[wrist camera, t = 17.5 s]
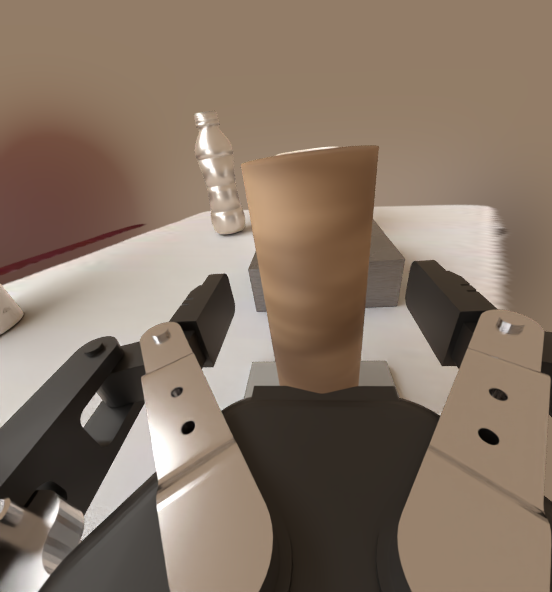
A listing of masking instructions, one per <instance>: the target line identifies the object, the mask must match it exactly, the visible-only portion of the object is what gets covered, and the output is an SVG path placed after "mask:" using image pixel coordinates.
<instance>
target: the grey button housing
mask: <svg viewBox="0 0 552 592" xmlns="http://www.w3.org/2000/svg"><path fill="white" fill-rule="evenodd" d="M404 262H405V259H404V257H403V256H402V255H401V254H400V252H399V251H398V250H397V249H396V247H395V246H394V245H393V243H392V242H391V241H390V240H389V238H388V237H387V236H386V235H385V233H384V232H383V231H382V230H381V228H380V227H379V226H378V225H377V223H376V222H375V221H374V220H372V232H371V244H370V256H369V267H368V279H367V291H366V303H365V307H389V306H397V303H398V297H399V291H400V286H401V280H402V274H403V268H404ZM248 271H249V276H250V281H251V286H252V291H253V296H254V301H255V306H256V311H257V312H265V311H267V310H266V305H265V299H264V293H263V288H262V282H261V276H260V270H259V265H258V259H257V253H256V252H255V255H254V257H253V259H252V262H251V264H250V266H249V269H248Z"/></svg>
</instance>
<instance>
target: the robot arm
mask: <svg viewBox="0 0 552 592" xmlns="http://www.w3.org/2000/svg"><path fill="white" fill-rule="evenodd" d="M405 299H406V305H407V308H408V310H409V311H410V313H411V315H412V316H413V318H414V320H415V321H416V323H417V325H418V326H419V328H420V330H421V332H422V333H423V335H424V337H425V338H426V340H427V342H428V343H429V345H430V347H431V348H432V350H433V352H434V353H435V355H436V357H437V358H438V360H439V362H440V363H441V365H442V366H457V367H458V368H459V371H458V374H457V376H456V379H455V381H454V384H453V386H452V389H451V391H450V394H449V396H448V399H447V401H446V404H445V406H444V409H443V411H442V414H441V416H439V415H438V414H436V413H435V412H433V411H431V410H429V409H427V408H425V407H423V406H421V405H419V404H416V403H414V402H411V401H408V400H405V399H401V398H399V397H398V394H397V391H396V388H395V386H355V387H351V388H347V389H342V390H338V391H333V392H329V393H324V394H320V393H315V392H311V391H307V390H303V389H298V388H294V387H290V386H254V388H253V393H252V397H248V398H245V399H242V400H239V401H237V402H235V403H233V404H231V405H230V406H228V407H226V408H225V409H223V410H222V411H221V410H220V408H219V406H218V404H217V402H216V399H215V397H214V395H213V393H212V391H211V389H210V387H209V385H208V382H207V380H206V378H205V376H204V374H203V372H202V367H214V364H215V362H216V359H217V357H218V354H219V352H220V349H221V347H222V344H223V342H224V339H225V336H226V334H227V331H228V329H229V326H230V324H231V321H232V319H233V316H234V313H235V303H234V298H233V295H232V291H231V287H230V283H229V279H228V276H227V275H226V274H211V275H209V276H208V277H207V278H206V280H205V281H204V283H203V284H202V285H200V286H198V287H197V288H195V289H194V290H192V291H191V292H190V293H189V295H188V296H187V298H186V300H184V302H183V303H182V305H181V306H180V307H179V309H178V310H177V311H176V313H175V314H174V315H173V317H172V318H171V320H170V321H169V322H166V323H161V324H158V325H156V326H154V327H152V328H150V329H149V330H148V331H146V332H145V333H144V334H143V336H142V337H141V339H140V342H136V343H132V344H128V345H124V346H120V344H119V343H118V341H117V339H116V338H115V337H111V336H106V337H101V338H98V339H95V340H93V341H90V342H88V343H87V344H85V345H83V346H82V347H81V348H79V349H78V350H77V351H76V352H75V353H74V354H73V355H72V356H71V357H70V358H69V359H68V360H67V361H66V362H65V363H64V364H63V365H62V366H61V367H60V368H59V369H58V370H57V371H56V372H55V373H54V374H53V375H52V376H51V377H50V378H49V379H48V380H47V381H46V382H45V383H44V384H43V386H42V387H41V388H40V389H39V390H38V391H37V392H36V393H35V394H34V395H33V396H32V397H31V398H30V399H29V400H28V401H27V402H26V403H25V404H24V405H23V406H22V407H21V408H20V409H19V410H18V411H17V412H16V413H15V414H14V415H13V416H12V417H11V418H10V419H9V420H8V421H7V422H6V423H5V424H4V425H3V426H2V427H1V428H0V592H552V501H550V500H549V499H548V498H546V497H545V496H544V484H545V467H546V450H547V433H548V415H550V416H551V417H552V332H545V331H544V330H543V327H542V326H541V325H540V324H539V323H538V322H536V321H535V320H533V319H531V318H529V317H527V316H525V315H522V314H520V313H516V312H512V311H507V310H498V309H497V308H496V307H495V306H493V305H492V304H491V303H490V302H489V301H488V300H487V299H486V298H485V297H483V296H482V295H481V294H480V293H479V292H476V289H475V288H473V287H472V286H471V285H470V284H469V283H468V282H467V281H466V280H465V279H464V278H462V277H461V276H459V275H457V274H455V273H452V272H450V271H446V270H445V269H444V268H443V267H442V266H441V265H439V264H438V263H437V262H436V261H435V260H426V261H414V262H413V263H412V264H411V267H410V273H409V278H408V284H407V289H406V296H405ZM23 314H24V313H23V311H22V310H21V308H20V307H19V306H18V305H17V303H16V302H15V301H14V300H13V299H12V297H11V296H10V295H9V294H8V293H7V291H6V290H5V289H4V288H3V286H2V285H1V284H0V334H2V333H4V332H5V331H7V330H8V329H10V328H11V327H12V326H14V325H15V324H16V323H17V322H18V321H19V320H20V319H21V318H22V317H23ZM96 392H97V393H98V395H99V396H100V397H101V399H102V402H101V403H100V405H99V406H98V408H97V409H96V410H95V412H94V413H93V415H92V416H91V417H90V419H89V420H88V422H87V423H86V425H85V426H84V427H82V426H81V423H80V418H81V414H82V411H83V409H84V408H85V407H86V405H87V404H88V403H89V401H90V400H91V399H92V397H93V396H94V395H95V393H96ZM144 403H145V406H146V411H147V417H148V423H149V429H150V435H151V441H152V447H153V453H154V459H155V465H156V472H155V473H154V474H153V475H152V476H151V477H150V478H149V479H148V480H147V481H146V482H144V483H143V484H142V485H141V486H140V487H139V488H138V489H137V490H136V491H135V492H134V493H133V494H132V495H131V496H130V497H128V498H127V499H126V500H125V501H124V502H123V503H122V504H121V505H120V506H119V507H118V508H117V509H116V510H115V511H114V512H113V513H111V514H110V515H109V516H108V517H107V518H106V519H105V520H104V521H103V522H102V523H101V524H100V525H99V526H98V527H97V528H95V529H94V530H93V531H92V532H91V533H90V534H89V535H88V536H87V537H86V538H85V539H84V540H83V541H81V540H80V539H81V536H82V533H83V530H84V515H85V513H86V511H87V509H88V507H89V506H90V504H91V502H92V500H93V498H94V496H95V494H96V493H97V491H98V489H99V487H100V485H101V483H102V481H103V480H104V478H105V476H106V474H107V472H108V470H109V468H110V466H111V465H112V463H113V461H114V459H115V457H116V455H117V453H118V452H119V450H120V448H121V446H122V444H123V442H124V440H125V439H126V437H127V435H128V433H129V431H130V429H131V427H132V425H133V424H134V422H135V420H136V418H137V416H138V414H139V412H140V411H141V409H142V407H143V405H144Z"/></svg>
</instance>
